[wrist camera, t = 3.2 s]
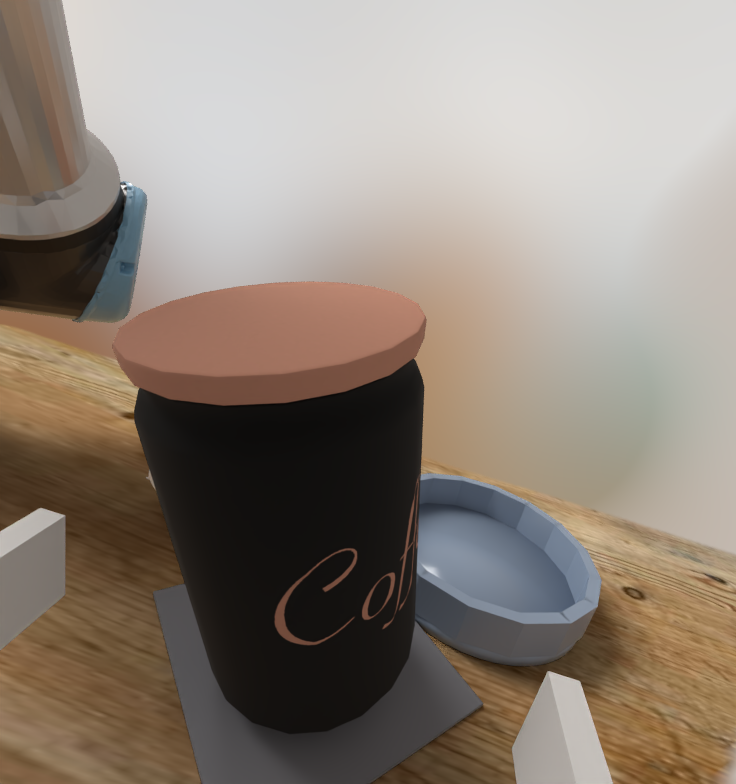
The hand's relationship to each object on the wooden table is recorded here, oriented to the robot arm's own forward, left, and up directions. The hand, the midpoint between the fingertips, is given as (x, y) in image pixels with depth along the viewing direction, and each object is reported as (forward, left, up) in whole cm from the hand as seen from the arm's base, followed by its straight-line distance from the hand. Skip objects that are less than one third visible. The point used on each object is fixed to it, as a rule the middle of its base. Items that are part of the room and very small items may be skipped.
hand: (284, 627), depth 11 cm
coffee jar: (-7, +7, -11) cm, 14 cm away
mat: (-7, +7, -12) cm, 16 cm away
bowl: (-8, +22, -12) cm, 26 cm away
